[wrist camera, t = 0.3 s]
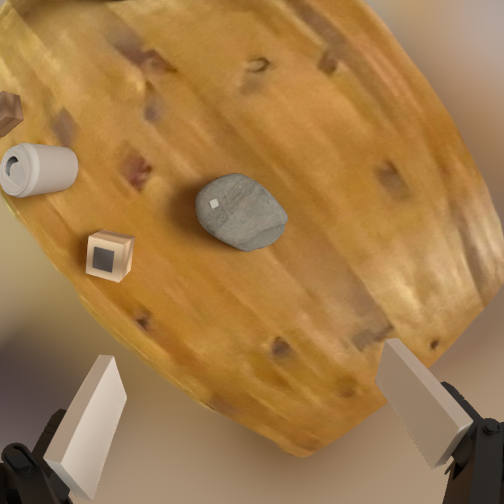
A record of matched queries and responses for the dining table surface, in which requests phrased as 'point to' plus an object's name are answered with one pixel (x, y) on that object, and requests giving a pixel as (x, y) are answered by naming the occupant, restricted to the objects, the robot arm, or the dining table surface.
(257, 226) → the stone
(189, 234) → the dining table surface
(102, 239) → the beech block
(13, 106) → the walnut block
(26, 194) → the beverage can
